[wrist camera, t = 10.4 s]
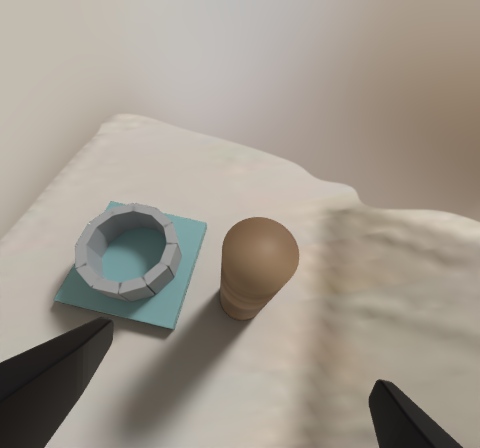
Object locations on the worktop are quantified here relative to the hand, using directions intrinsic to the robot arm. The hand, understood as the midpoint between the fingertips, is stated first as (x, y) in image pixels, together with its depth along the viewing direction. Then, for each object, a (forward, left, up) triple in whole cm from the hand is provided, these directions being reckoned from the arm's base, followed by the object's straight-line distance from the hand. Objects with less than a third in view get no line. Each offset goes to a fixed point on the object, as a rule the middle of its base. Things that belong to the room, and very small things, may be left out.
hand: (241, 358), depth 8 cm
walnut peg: (+5, 0, -13) cm, 14 cm away
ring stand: (+6, +10, -13) cm, 18 cm away
